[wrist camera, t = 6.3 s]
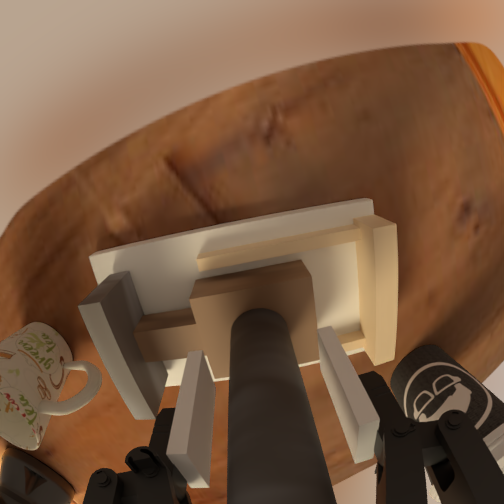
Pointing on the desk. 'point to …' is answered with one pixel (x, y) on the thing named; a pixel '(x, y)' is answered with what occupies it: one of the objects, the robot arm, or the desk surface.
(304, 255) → the white slotted peg base
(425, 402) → the coffee cup
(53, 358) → the mug
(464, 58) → the desk surface
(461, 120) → the desk surface
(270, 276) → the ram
